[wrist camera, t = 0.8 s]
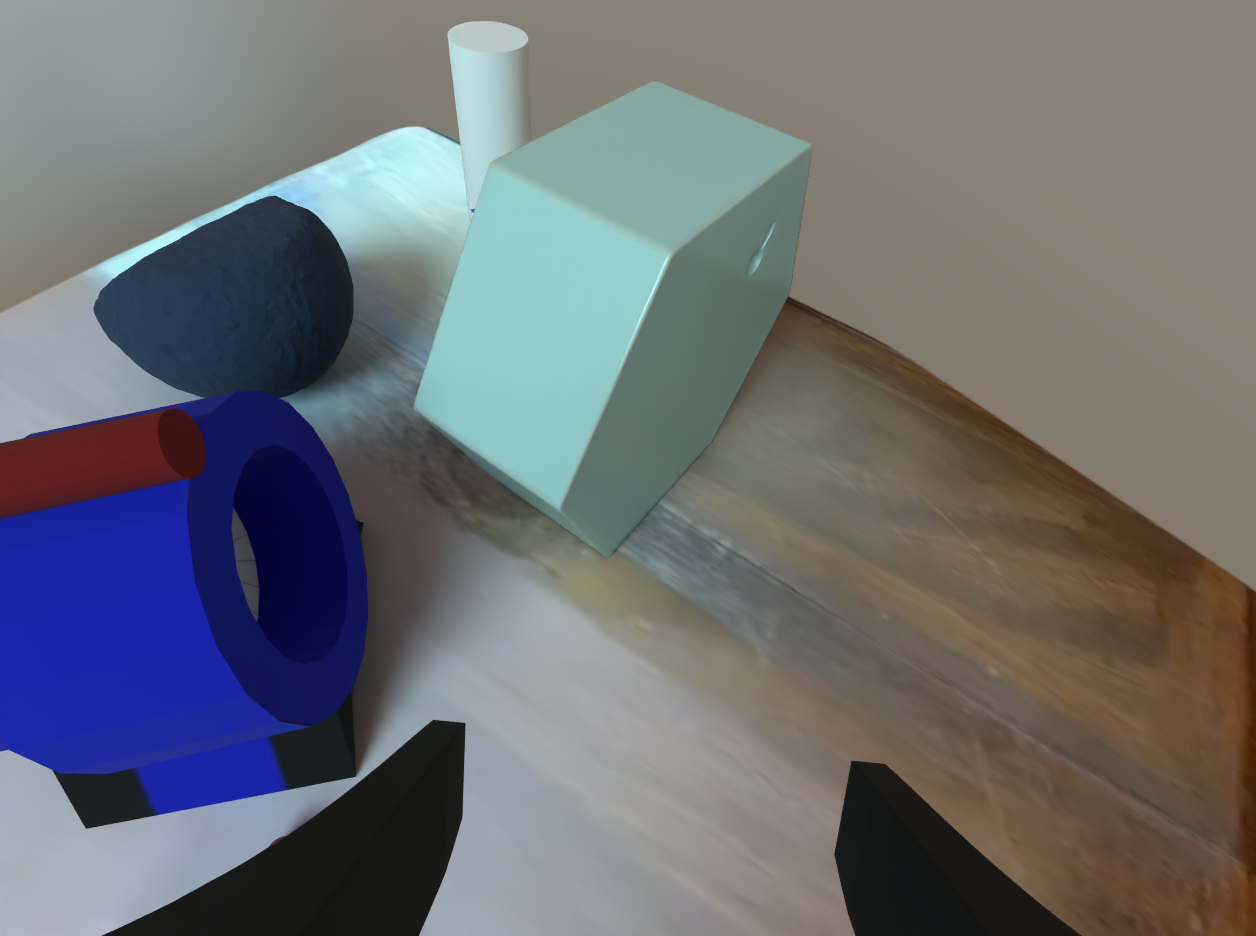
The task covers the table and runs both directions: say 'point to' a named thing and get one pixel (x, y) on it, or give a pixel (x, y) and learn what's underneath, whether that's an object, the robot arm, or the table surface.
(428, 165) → the table surface
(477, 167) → the tube
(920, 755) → the table surface
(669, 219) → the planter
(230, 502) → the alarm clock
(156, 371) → the decorative stone
